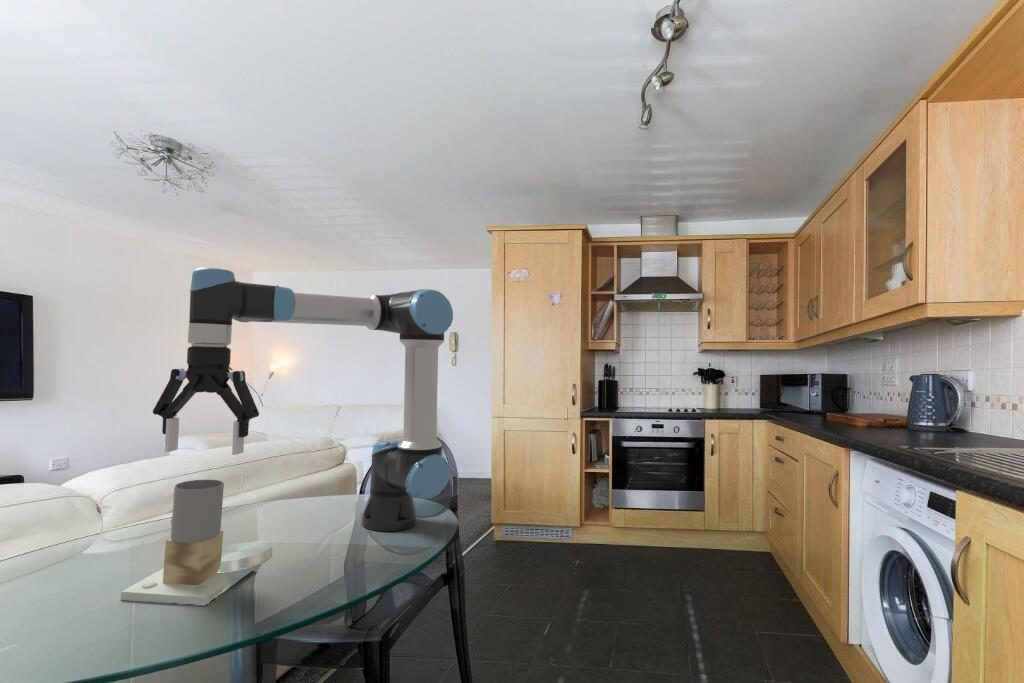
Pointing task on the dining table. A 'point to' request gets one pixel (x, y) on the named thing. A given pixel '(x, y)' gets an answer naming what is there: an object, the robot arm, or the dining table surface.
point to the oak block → (192, 561)
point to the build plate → (174, 590)
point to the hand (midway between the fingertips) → (204, 452)
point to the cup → (197, 510)
